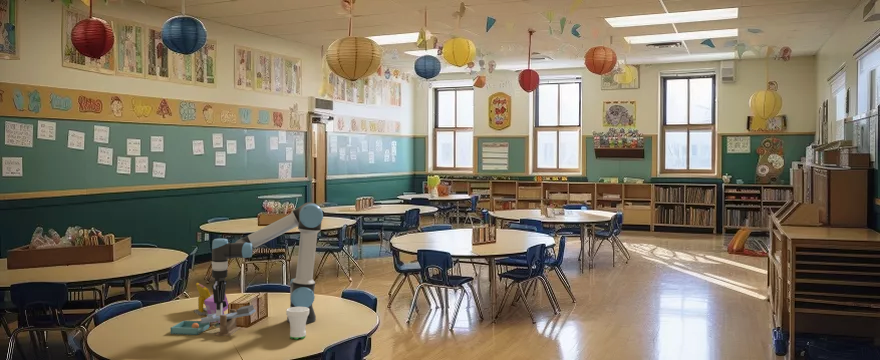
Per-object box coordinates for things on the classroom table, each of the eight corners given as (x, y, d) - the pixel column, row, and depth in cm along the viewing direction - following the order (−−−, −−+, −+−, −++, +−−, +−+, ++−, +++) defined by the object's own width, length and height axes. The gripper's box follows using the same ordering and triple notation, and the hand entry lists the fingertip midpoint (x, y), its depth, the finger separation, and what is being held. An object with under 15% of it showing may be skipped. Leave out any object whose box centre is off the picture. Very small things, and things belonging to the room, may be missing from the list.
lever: (256, 310, 350) (255, 303, 350) (249, 315, 339) (247, 308, 339) (208, 319, 352) (207, 312, 352) (199, 324, 342) (198, 317, 342)
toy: (234, 318, 368) (227, 294, 364) (224, 326, 362) (217, 302, 357) (219, 317, 373) (212, 293, 368) (209, 325, 366) (202, 300, 362)
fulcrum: (240, 328, 353) (240, 309, 352) (229, 336, 339) (229, 316, 338) (227, 328, 353) (227, 308, 353) (215, 335, 340) (215, 315, 339)
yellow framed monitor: (215, 315, 380) (215, 287, 379) (201, 317, 375) (200, 288, 375) (205, 308, 396) (205, 281, 396) (191, 310, 392) (191, 282, 391)
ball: (194, 329, 350) (200, 328, 349) (191, 331, 346) (197, 329, 346) (192, 322, 350) (199, 321, 349) (189, 324, 346) (196, 323, 346)
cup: (298, 342, 329) (298, 313, 328) (281, 338, 335) (281, 310, 334) (314, 336, 338) (314, 308, 338) (297, 333, 344) (297, 305, 344)
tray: (209, 327, 354) (209, 321, 354) (197, 334, 340) (197, 328, 340) (183, 326, 356) (183, 320, 356) (170, 334, 342) (170, 327, 342)
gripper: (218, 266, 352) (217, 312, 353) (207, 271, 339) (206, 318, 340) (232, 267, 351) (231, 312, 352) (221, 272, 338) (221, 319, 339)
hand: (219, 315), depth 346 cm, fingers closed
